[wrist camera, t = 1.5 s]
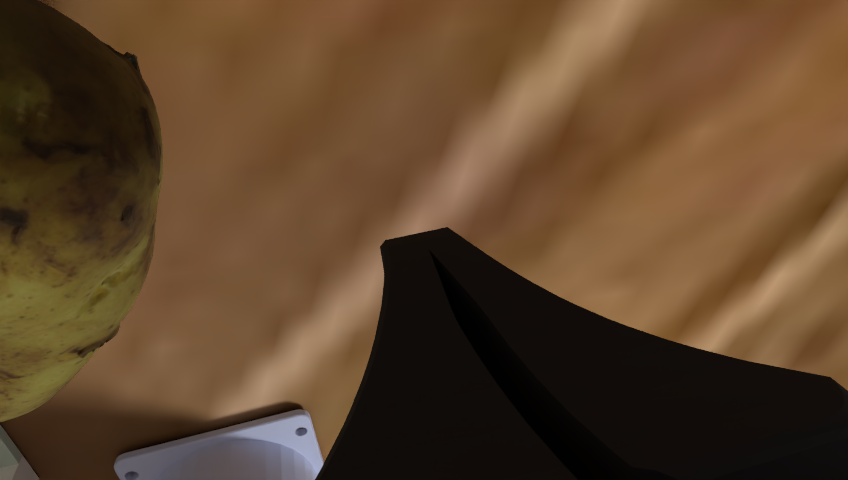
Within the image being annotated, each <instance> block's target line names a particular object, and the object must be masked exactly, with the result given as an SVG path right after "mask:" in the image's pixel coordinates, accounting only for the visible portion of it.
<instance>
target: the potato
mask: <svg viewBox="0 0 848 480" xmlns="http://www.w3.org/2000/svg"><path fill="white" fill-rule="evenodd" d="M162 163H163V154H162V139H161V128H160V124H159V119H158V115H157V111H156V107H155V104H154V101H153V98H152V96H151V94H150V91H149V89H148V87H147V85H146V83H145V82H144V80H143V79H142V76H141V73H140V69H139V66H138V63H137V57H136V56H135V55H134V54H133V55H132V54H130V53H128V52H126V53H125V54H124V55H123V54H121V53H119V52H117V51H115V50H114V49H113V48H112V47H111V46H109V45H106V44H105V43H103V42H102V41H100V40H99V39H98V38H96V37H95V36H94V35H93V34H92V33H90V32H89V31H88V30H86V29H85V28H84V27H82V26H81V25H79V24H78V23H76V22H75V21H73V20H72V19H70V18H68V17H67V16H65V15H63V14H62V13H60V12H59V11H57V10H55V9H54V8H52V7H50V6H48V5H46V4H44V3H42V2H40V1H38V0H0V422H3V421H6V420H10V419H13V418H17V417H19V416H21V415H24V414H26V413H29V412H31V411H33V410H34V409H36V408H38V407H40V406H41V405H43V404H44V403H46V402H47V401H48V400H50V399H51V398H52V397H53V396H54V395H55V394H56V393H57V392H58V391H59V390H61V389H62V388H63V387H64V386H65V385H66V384H67V383H68V382H69V381H70V380H71V379H72V378H73V377H74V376H75V375H76V374H77V373H78V372H79V371H80V369H81V368H82V367H83V366H84V365H85V364H86V363H87V362H88V360H89V359H90V358H91V357H92V356H93V354H94V353H95V352H96V351H97V350H98V349H99V347H101V346H103V345H104V343H105V342H108V341H109V340H111V339H112V338H113V337H114V336H115V335H116V334H117V332H118V330H119V327H120V326H119V324H120V323H121V321H122V320H123V319H124V317H125V316H126V315H127V313H128V312H129V310H130V309H131V307H132V305H133V304H134V302H135V300H136V298H137V296H138V294H139V292H140V290H141V288H142V286H143V283H144V280H145V278H146V275H147V273H148V270H149V266H150V263H151V259H152V256H153V248H154V240H155V221H156V212H157V203H158V197H159V192H160V187H161V179H162Z"/></svg>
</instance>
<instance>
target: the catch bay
mask: <svg viewBox="0 0 848 480" xmlns="http://www.w3.org/2000/svg"><path fill="white" fill-rule="evenodd" d="M0 480H40V479H39V477H38V476H37V474H36V473H35V472H34V470H33V469H32V468H31V466H30V465H29V463H28V462H27V461H26V459H25V458H24V457H23V455H22V454H21V452H20V451H19V450H18V448H17V447H16V445H15V444H14V443H13V441H12V440H11V439H10V437H9V436H8V434H7V433H6V432H5V430H4V429H3V428H2V426H1V425H0Z"/></svg>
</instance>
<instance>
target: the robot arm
mask: <svg viewBox="0 0 848 480" xmlns="http://www.w3.org/2000/svg"><path fill="white" fill-rule="evenodd" d="M380 249H381V255H382V261H383V268H384V288H383V297H382V306H381V311H380V316H379V321H378V326H377V331H376V335H375V340H374V343H373V347H372V351H371V354H370V358H369V361H368V364H367V367H366V370H365V373H364V376H363V379H362V382H361V384H360V387H359V389H358V392H357V394H356V397H355V399H354V402H353V405H352V407H351V409H350V412H349V414H348V416H347V419H346V421H345V423H344V425H343V427H342V429H341V431H340V433H339V435H338V437H337V439H336V441H335V443H334V445H333V447H332V449H331V451H330V452H329V454H328V456H327V458H326V460H325V462H323V458H322V455H321V452H320V448H319V445H318V441H317V438H316V434H315V431H314V428H313V424H312V421H311V417H310V414H309V413H308V412H307V411H305V410H302V409H298V410H293V411H289V412H285V413H281V414H277V415H273V416H269V417H265V418H261V419H257V420H253V421H249V422H246V423H242V424H238V425H234V426H230V427H226V428H222V429H218V430H214V431H210V432H206V433H202V434H198V435H194V436H190V437H186V438H182V439H178V440H174V441H170V442H167V443H163V444H159V445H155V446H151V447H147V448H143V449H139V450H135V451H131V452H127V453H124V454H121V455H119V456H118V457H117V458H116V460H115V464H114V470H115V472H116V474H117V475H118V477H119V479H120V480H848V391H847V390H846V389H845V388H843V387H842V386H841V385H840V384H838V383H837V382H836V381H835V380H833V379H832V378H831V377H827V376H821V375H816V374H811V373H806V372H801V371H796V370H790V369H785V368H780V367H775V366H770V365H764V364H759V363H754V362H749V361H745V360H740V359H736V358H732V357H728V356H724V355H721V354H717V353H713V352H709V351H705V350H701V349H697V348H694V347H690V346H687V345H683V344H680V343H676V342H673V341H670V340H666V339H663V338H660V337H657V336H655V335H652V334H649V333H646V332H643V331H640V330H637V329H634V328H631V327H628V326H626V325H623V324H620V323H618V322H615V321H612V320H610V319H607V318H605V317H603V316H600V315H598V314H596V313H593V312H591V311H589V310H587V309H584V308H582V307H580V306H577V305H575V304H573V303H571V302H569V301H567V300H565V299H563V298H561V297H559V296H557V295H555V294H553V293H551V292H549V291H547V290H545V289H544V288H542V287H540V286H538V285H536V284H534V283H532V282H531V281H529V280H527V279H525V278H524V277H522V276H520V275H519V274H517V273H515V272H514V271H512V270H510V269H509V268H507V267H506V266H504V265H502V264H501V263H499V262H498V261H496V260H495V259H493V258H492V257H490V256H488V255H487V254H485V253H484V252H483V251H481V250H480V249H478V248H477V247H475V246H474V245H472V244H471V243H469V242H468V241H467V240H465V239H464V238H462V237H461V236H459V235H458V234H457V233H455V232H454V231H452V230H451V229H449V228H448V227H446V228H441V229H437V230H432V231H427V232H422V233H418V234H413V235H408V236H403V237H399V238H394V239H389V240H385V241H384V243H383V244H382V245H381V246H380ZM300 427H304V428H302V429H298V428H300ZM131 471H134V472H131Z"/></svg>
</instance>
